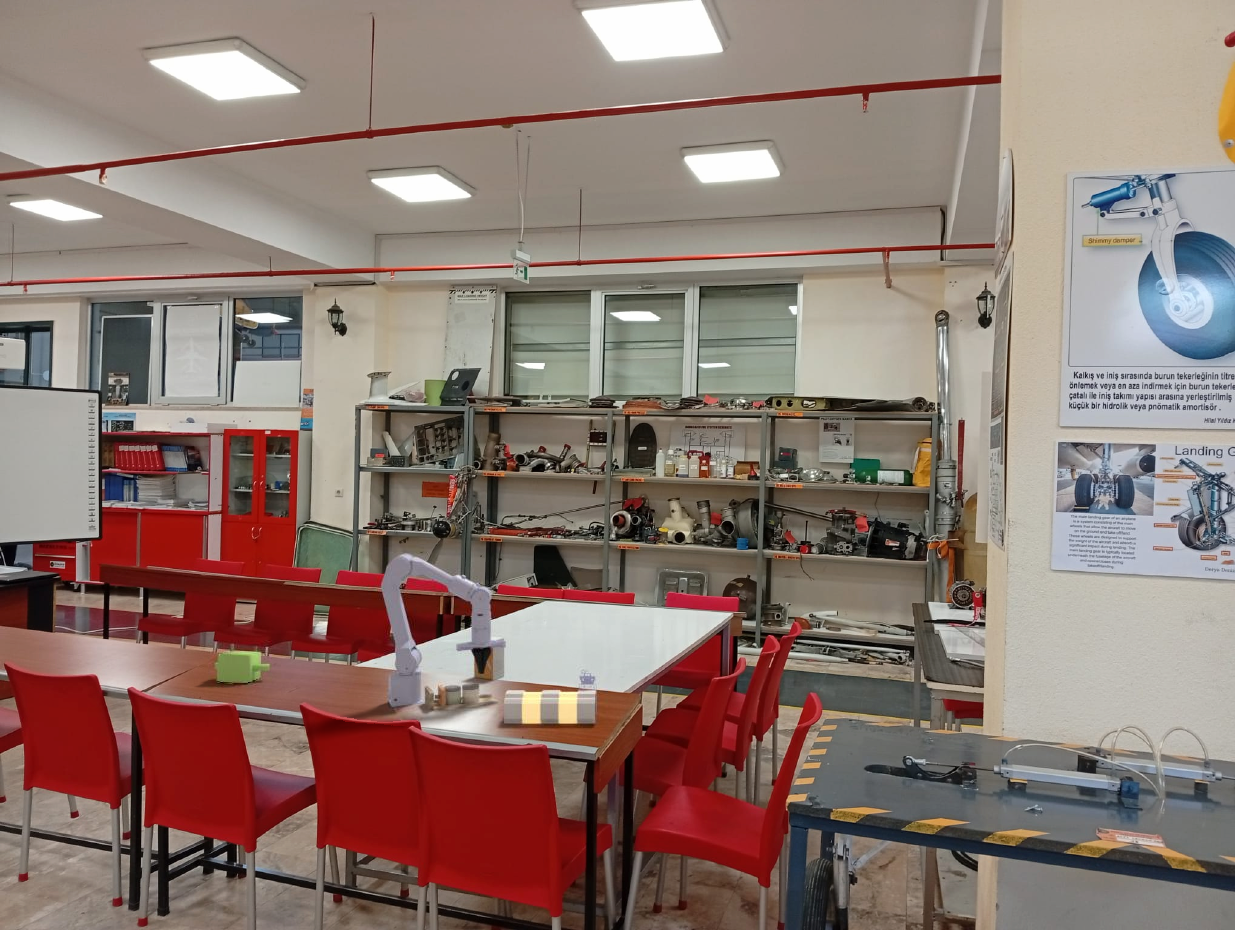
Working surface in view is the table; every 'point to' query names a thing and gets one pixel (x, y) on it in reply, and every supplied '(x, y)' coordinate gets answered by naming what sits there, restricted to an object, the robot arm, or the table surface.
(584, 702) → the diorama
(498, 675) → the small box
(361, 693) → the table surface
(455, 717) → the table surface
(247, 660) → the gearbox
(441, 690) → the pusher
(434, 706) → the lane
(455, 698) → the green jar
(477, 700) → the cream jar
